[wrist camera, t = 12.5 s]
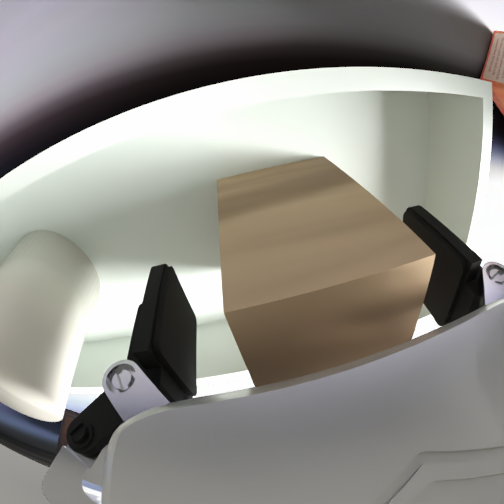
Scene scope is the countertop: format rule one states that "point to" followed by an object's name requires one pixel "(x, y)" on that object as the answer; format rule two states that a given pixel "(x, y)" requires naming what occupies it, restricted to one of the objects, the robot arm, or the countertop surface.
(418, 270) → the light wooden cube
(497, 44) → the cracker box
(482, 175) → the tray
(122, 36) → the countertop surface
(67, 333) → the white block
